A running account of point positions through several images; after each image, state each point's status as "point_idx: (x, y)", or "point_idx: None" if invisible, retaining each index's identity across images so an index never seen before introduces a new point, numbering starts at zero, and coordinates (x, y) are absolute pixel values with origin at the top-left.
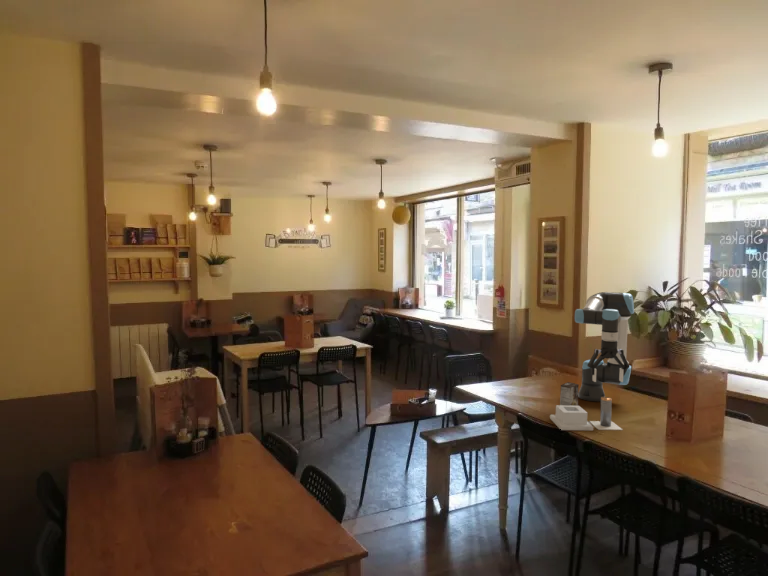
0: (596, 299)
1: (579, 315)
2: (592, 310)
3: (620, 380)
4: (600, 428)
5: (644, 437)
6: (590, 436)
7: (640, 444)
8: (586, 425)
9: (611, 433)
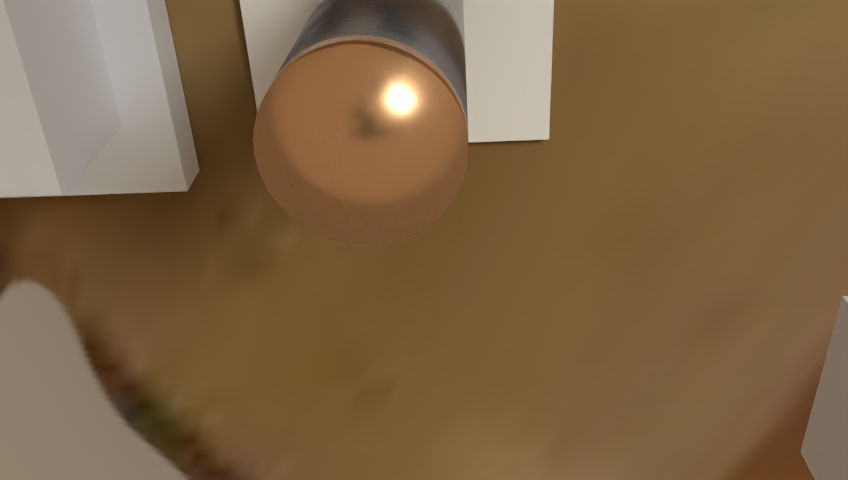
0: None
1: None
2: None
3: (832, 410)
4: None
5: (671, 317)
6: (139, 328)
7: (535, 459)
8: (110, 161)
9: None
